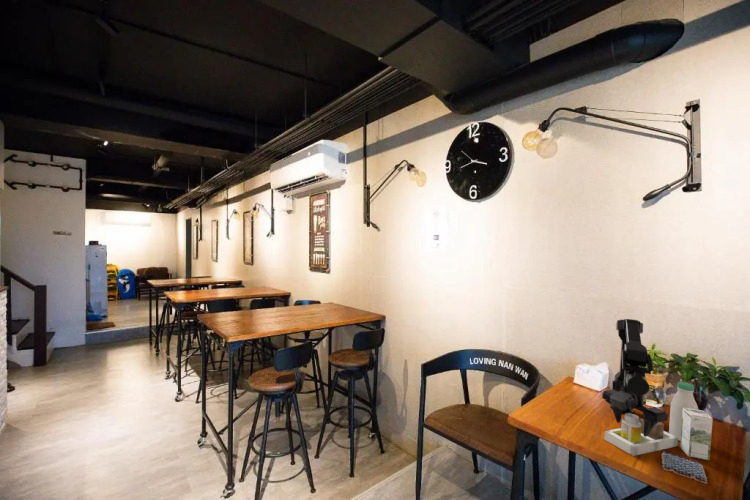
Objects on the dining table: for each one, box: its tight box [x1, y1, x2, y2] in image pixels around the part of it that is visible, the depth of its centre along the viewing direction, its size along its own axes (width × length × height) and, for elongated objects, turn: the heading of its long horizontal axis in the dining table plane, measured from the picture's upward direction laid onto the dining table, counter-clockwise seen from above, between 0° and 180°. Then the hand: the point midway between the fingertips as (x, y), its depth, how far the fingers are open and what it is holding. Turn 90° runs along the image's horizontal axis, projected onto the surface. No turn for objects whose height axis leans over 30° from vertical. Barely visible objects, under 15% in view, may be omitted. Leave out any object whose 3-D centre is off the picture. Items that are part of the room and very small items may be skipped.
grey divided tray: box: [603, 428, 679, 457], centre depth 123 cm, size 22×10×3 cm, turn 109°
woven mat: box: [660, 450, 708, 485], centre depth 109 cm, size 10×11×2 cm
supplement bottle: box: [620, 413, 641, 444], centre depth 121 cm, size 6×6×10 cm
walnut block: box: [639, 418, 665, 440], centre depth 124 cm, size 5×5×7 cm
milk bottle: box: [668, 381, 699, 442], centre depth 127 cm, size 8×8×20 cm
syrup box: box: [679, 408, 713, 461], centre depth 117 cm, size 6×6×14 cm
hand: (631, 429), depth 121 cm, fingers open, 9 cm apart
